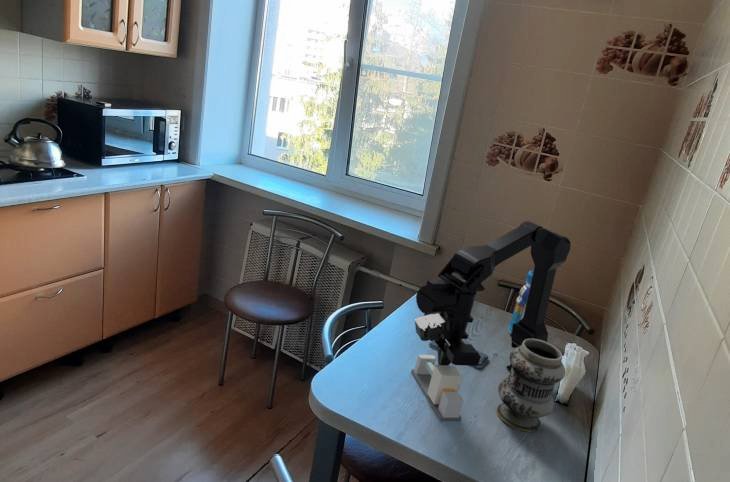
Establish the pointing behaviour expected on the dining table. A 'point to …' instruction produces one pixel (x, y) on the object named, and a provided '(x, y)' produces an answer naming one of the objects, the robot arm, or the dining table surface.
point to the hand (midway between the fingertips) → (440, 369)
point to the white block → (443, 381)
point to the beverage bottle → (521, 302)
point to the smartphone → (483, 356)
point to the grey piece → (449, 398)
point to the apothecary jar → (530, 384)
